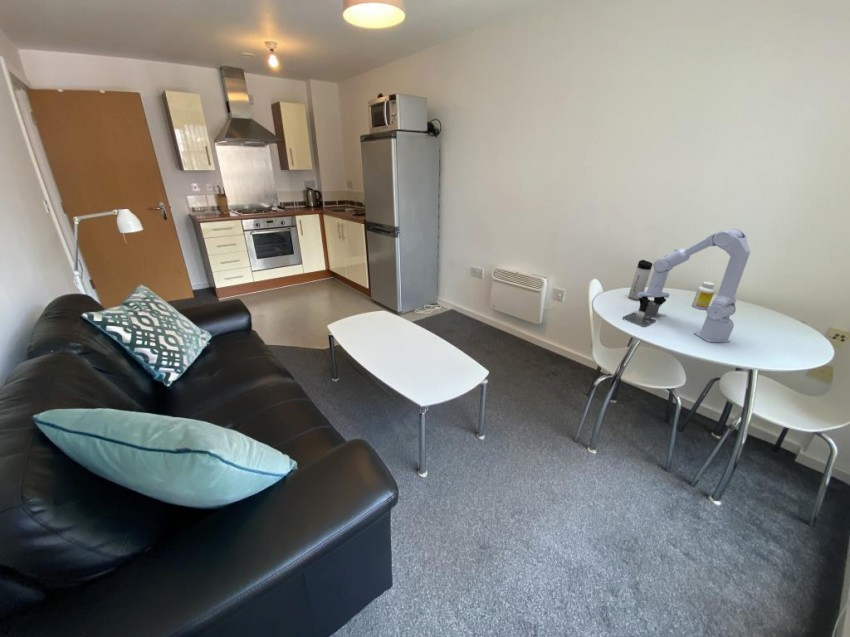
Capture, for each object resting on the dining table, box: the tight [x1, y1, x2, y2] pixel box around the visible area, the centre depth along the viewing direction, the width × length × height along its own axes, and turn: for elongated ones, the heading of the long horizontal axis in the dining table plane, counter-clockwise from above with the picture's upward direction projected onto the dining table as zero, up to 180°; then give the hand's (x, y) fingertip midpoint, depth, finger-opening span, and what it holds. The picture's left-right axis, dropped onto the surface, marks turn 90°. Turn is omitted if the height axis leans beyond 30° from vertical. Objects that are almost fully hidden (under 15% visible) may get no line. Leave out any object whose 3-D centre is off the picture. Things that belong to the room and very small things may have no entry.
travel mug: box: [627, 259, 654, 302], centre depth 182 cm, size 6×7×20 cm
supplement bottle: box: [691, 281, 716, 310], centre depth 175 cm, size 7×7×13 cm
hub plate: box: [622, 309, 657, 328], centre depth 159 cm, size 10×10×4 cm
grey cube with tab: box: [638, 299, 661, 318], centre depth 166 cm, size 5×5×6 cm
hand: (647, 311), depth 167 cm, fingers closed on grey cube with tab, 5 cm apart
